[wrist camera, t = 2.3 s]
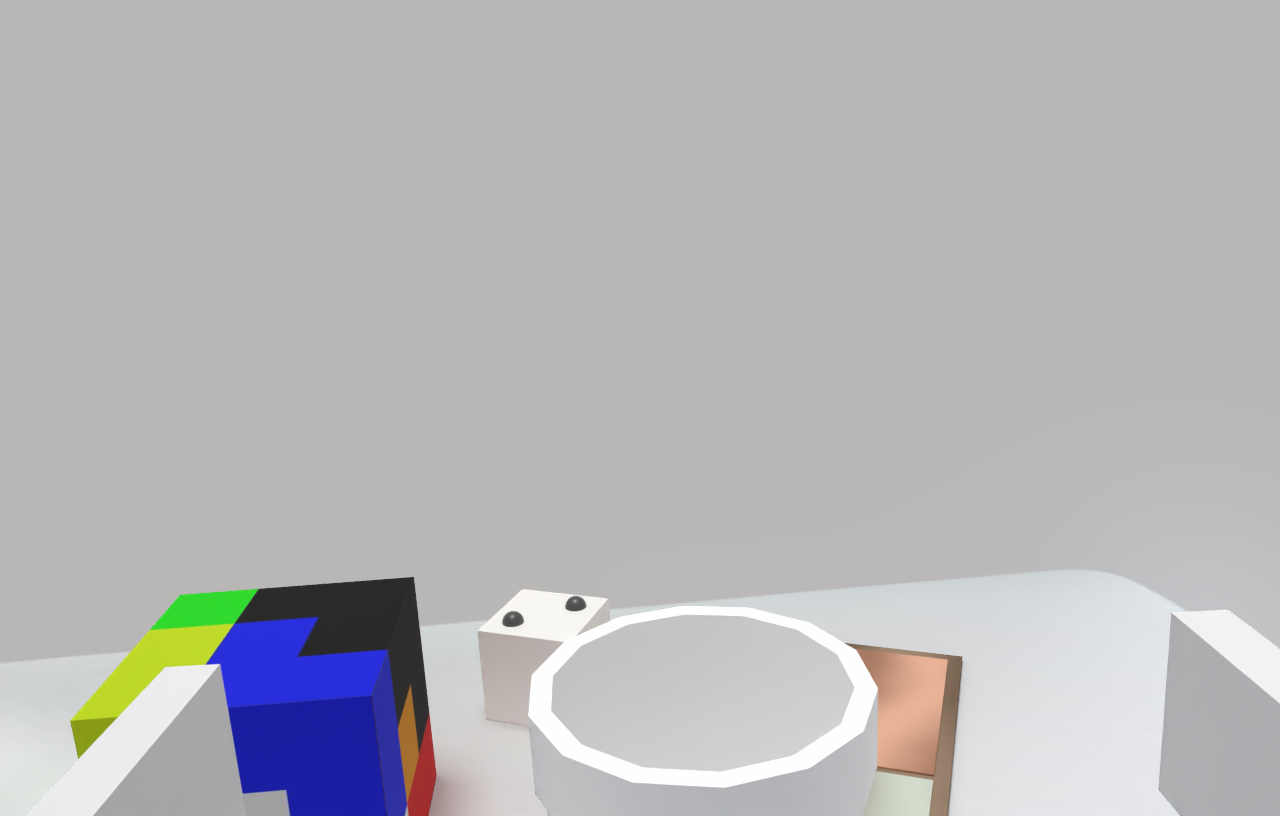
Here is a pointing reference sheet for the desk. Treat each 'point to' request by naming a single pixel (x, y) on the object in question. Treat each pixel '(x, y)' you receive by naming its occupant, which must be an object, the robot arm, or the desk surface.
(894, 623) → the desk surface
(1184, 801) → the robot arm
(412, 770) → the puzzle toy
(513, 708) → the die
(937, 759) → the color swatch strip
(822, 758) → the foam cup
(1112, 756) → the desk surface
